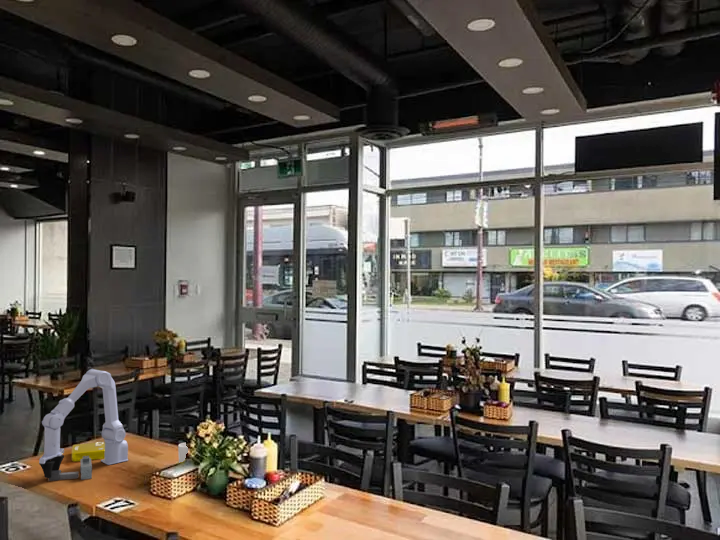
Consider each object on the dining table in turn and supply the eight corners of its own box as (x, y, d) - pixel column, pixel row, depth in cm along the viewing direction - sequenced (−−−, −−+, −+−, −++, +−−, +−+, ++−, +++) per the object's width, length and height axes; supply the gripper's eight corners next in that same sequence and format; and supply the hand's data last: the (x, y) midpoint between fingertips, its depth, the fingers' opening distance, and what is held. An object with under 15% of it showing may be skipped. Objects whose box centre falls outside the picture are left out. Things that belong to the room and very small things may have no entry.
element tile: (72, 453, 279) (72, 443, 279) (106, 450, 286) (106, 440, 286) (71, 463, 266) (71, 452, 266) (107, 459, 272) (107, 448, 272)
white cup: (185, 471, 256) (185, 448, 256) (174, 467, 261) (174, 444, 261) (199, 466, 262) (200, 444, 262) (188, 463, 267) (189, 441, 267)
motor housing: (90, 469, 256) (90, 455, 256) (91, 478, 245) (92, 463, 245) (80, 471, 254) (80, 456, 254) (81, 479, 243) (81, 464, 243)
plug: (79, 475, 248) (79, 468, 248) (77, 478, 244) (77, 471, 244) (47, 477, 245) (47, 470, 245) (45, 481, 241) (45, 473, 241)
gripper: (51, 448, 236) (50, 482, 236) (71, 438, 251) (70, 470, 251) (34, 447, 237) (33, 481, 236) (55, 437, 251) (54, 469, 251)
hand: (51, 475), depth 243 cm, fingers closed on plug, 5 cm apart
